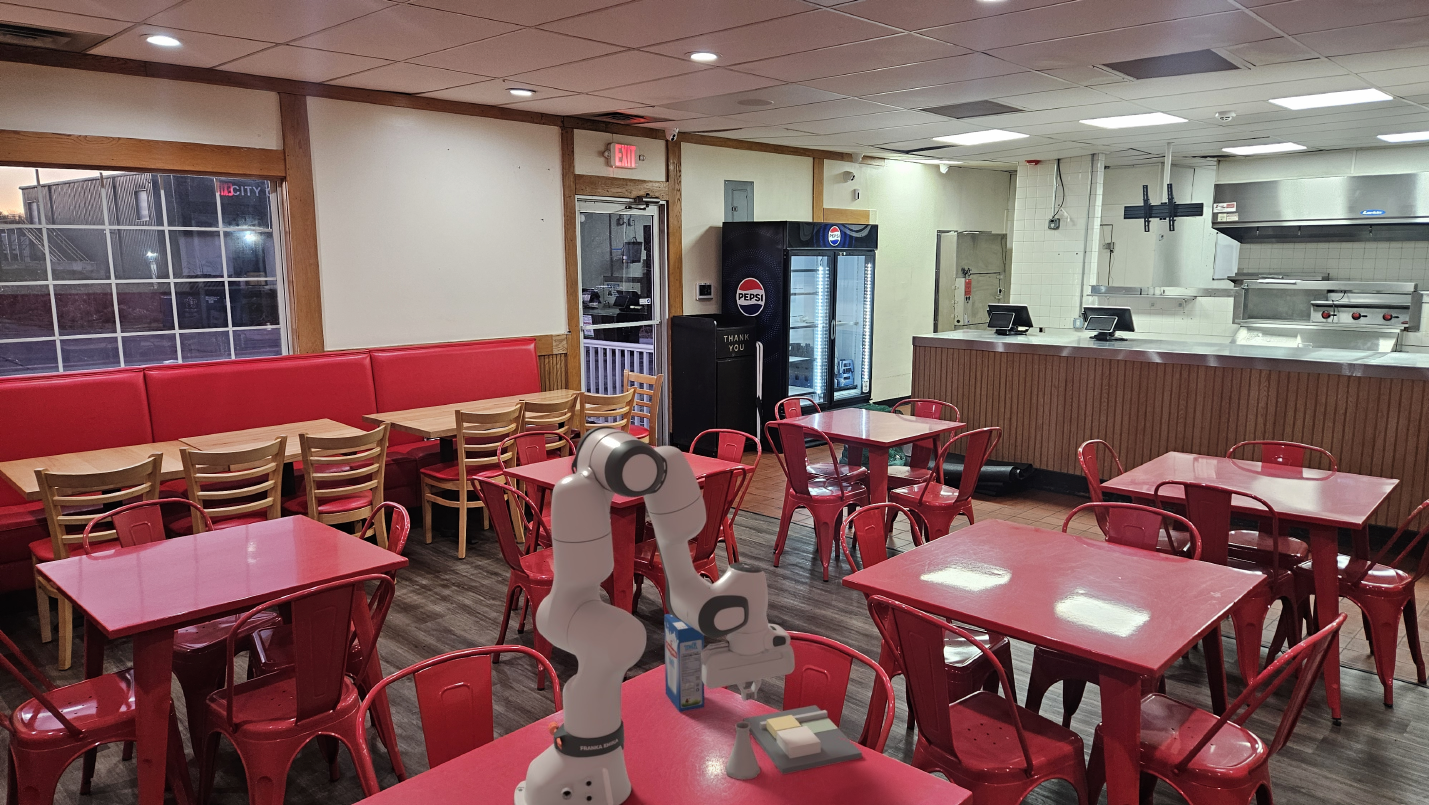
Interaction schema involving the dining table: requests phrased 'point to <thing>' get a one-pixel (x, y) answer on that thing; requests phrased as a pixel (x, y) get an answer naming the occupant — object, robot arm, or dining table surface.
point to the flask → (742, 755)
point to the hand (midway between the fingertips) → (749, 698)
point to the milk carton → (683, 664)
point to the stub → (781, 724)
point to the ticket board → (804, 762)
